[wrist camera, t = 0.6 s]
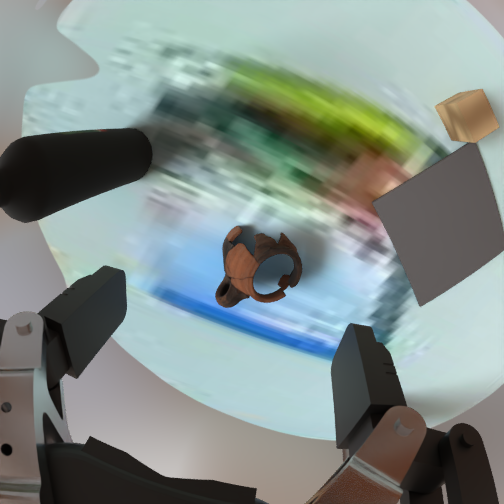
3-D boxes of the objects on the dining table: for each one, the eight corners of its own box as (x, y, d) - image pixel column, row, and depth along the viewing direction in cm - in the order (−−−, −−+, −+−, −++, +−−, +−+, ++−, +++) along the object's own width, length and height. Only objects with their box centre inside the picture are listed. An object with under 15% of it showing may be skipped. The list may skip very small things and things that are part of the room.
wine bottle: (124, 192, 38) (-61, 292, 11) (98, 151, 37) (-93, 208, 9) (162, 160, 36) (-53, 237, 8) (133, 117, 34) (-82, 136, 7)
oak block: (474, 125, 28) (499, 127, 23) (451, 140, 30) (474, 142, 24) (458, 92, 27) (482, 88, 21) (434, 106, 29) (456, 102, 23)
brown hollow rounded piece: (244, 202, 37) (273, 226, 31) (290, 238, 43) (322, 265, 36) (189, 275, 39) (205, 312, 32) (239, 301, 44) (262, 336, 38)
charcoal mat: (505, 247, 33) (506, 248, 33) (419, 305, 39) (420, 306, 38) (472, 140, 29) (474, 140, 28) (371, 202, 35) (372, 202, 34)
